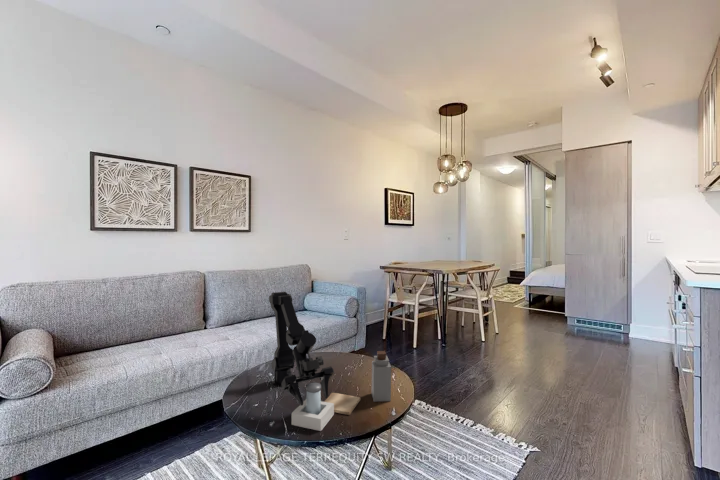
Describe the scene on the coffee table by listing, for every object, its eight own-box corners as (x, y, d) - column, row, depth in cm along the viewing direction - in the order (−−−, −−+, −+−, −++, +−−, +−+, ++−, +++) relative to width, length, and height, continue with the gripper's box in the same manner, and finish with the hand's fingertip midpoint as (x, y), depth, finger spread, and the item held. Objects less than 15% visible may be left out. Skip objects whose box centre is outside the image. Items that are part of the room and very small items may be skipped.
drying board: (319, 409, 127) (319, 406, 127) (332, 394, 138) (332, 392, 138) (349, 415, 123) (349, 412, 123) (360, 399, 134) (360, 397, 134)
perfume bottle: (371, 393, 140) (372, 349, 140) (387, 392, 141) (388, 349, 140) (373, 401, 133) (374, 355, 133) (390, 401, 134) (391, 355, 133)
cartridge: (303, 421, 118) (303, 387, 118) (310, 414, 123) (310, 381, 123) (316, 424, 117) (317, 390, 116) (323, 417, 122) (323, 383, 121)
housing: (291, 424, 117) (291, 413, 116) (306, 409, 127) (306, 398, 127) (320, 431, 113) (320, 419, 113) (333, 414, 123) (334, 403, 123)
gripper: (284, 353, 118) (295, 398, 109) (332, 345, 128) (346, 385, 119) (276, 368, 125) (286, 412, 116) (323, 359, 135) (335, 398, 126)
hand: (314, 401), depth 119 cm, fingers open, 9 cm apart
